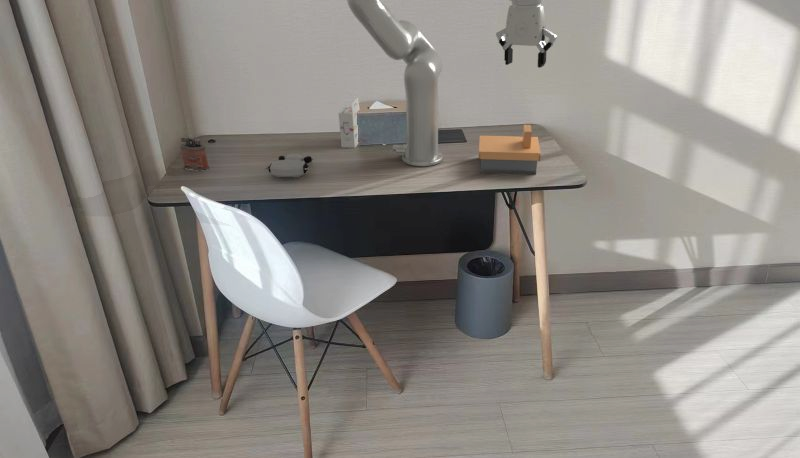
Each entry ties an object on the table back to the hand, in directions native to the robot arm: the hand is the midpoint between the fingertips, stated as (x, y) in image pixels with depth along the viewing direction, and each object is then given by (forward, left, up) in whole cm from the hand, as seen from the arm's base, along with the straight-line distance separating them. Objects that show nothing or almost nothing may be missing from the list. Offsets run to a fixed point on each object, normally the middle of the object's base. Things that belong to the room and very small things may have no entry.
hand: (524, 65), depth 168 cm
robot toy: (-67, -11, -30) cm, 74 cm away
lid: (-3, -1, -25) cm, 25 cm away
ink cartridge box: (-54, +14, -30) cm, 63 cm away
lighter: (-97, -11, -30) cm, 102 cm away
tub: (-3, -1, -30) cm, 30 cm away
